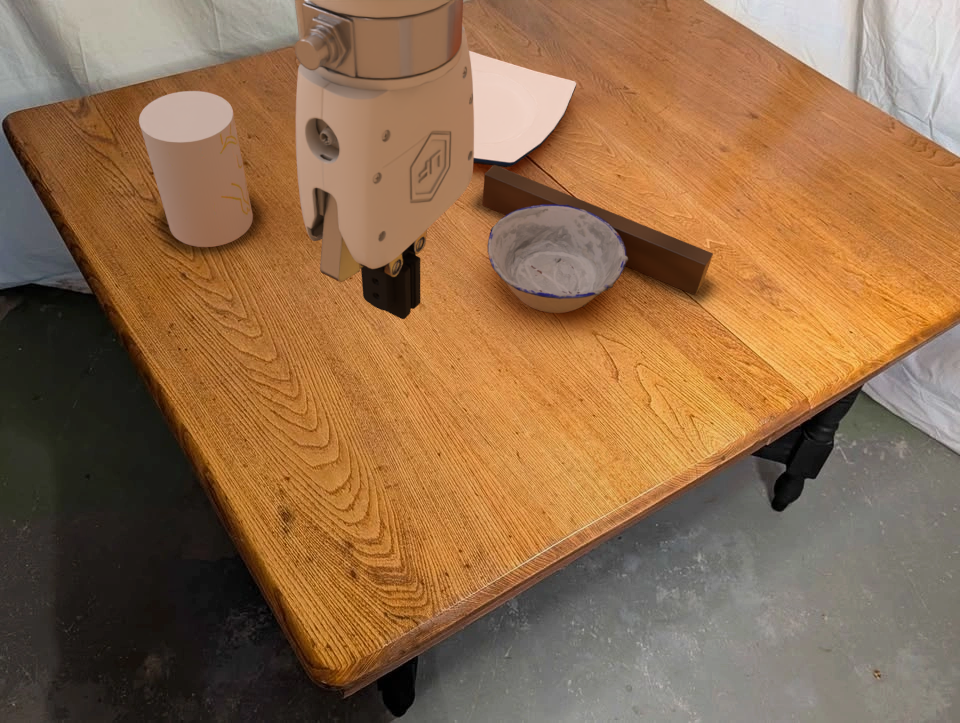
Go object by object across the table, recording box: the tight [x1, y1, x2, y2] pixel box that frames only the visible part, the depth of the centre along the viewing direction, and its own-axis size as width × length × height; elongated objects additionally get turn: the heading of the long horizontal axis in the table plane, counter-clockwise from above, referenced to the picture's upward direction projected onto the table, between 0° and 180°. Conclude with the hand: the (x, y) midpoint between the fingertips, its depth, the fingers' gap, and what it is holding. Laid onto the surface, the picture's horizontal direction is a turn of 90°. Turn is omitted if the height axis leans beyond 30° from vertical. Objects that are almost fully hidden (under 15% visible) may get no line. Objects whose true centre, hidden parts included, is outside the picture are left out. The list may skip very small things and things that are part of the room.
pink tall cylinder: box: [138, 90, 254, 248], centre depth 81 cm, size 8×8×12 cm
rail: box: [482, 165, 714, 296], centre depth 84 cm, size 24×2×4 cm, turn 59°
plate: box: [469, 50, 577, 168], centre depth 99 cm, size 20×20×3 cm
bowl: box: [487, 204, 628, 314], centre depth 80 cm, size 13×13×5 cm
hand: (391, 302), depth 53 cm, fingers closed
